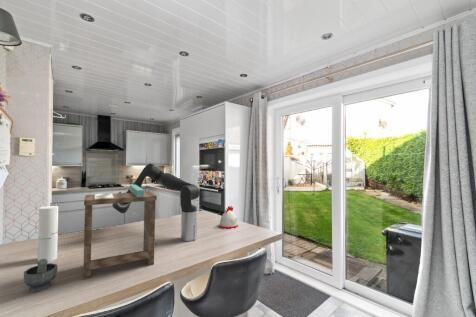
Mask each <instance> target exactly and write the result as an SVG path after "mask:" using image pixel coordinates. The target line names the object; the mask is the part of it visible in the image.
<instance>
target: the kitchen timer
mask: <svg viewBox="0 0 476 317" xmlns="http://www.w3.org/2000/svg"><path fill="white" fill-rule="evenodd" d="M236 215H237V214H235V213H234V207H233V206H232V205H231V206H230V205H229V206H227V208H226V209H225V210H224V213H222V215H221V216H220V221H219V228H221V229H224V228H226V229H225V230H232V229H231V228H234V229H237V228H238V227H239V222H238V218H237V216H236ZM236 227H237V228H236Z"/></svg>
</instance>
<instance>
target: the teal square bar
mask: <svg viewBox="0 0 476 317" xmlns="http://www.w3.org/2000/svg"><path fill="white" fill-rule="evenodd" d="M129 189H130V191H131V192H132V193H133V194H134V195H135V196H136V197H144V192H145V189H143V188H142V187H141V188H140V187H139V186H137V185H133V184H129Z"/></svg>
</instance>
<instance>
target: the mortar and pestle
mask: <svg viewBox="0 0 476 317" xmlns="http://www.w3.org/2000/svg"><path fill="white" fill-rule="evenodd" d="M57 273H58V265H57V263H49V262H48V260H47V259H41V260H39V261H38V260H37V265H35V266H31V267H30V268H28V269H26V270H25V271H23V280H24V284H26V286H28V287H29V292H30V293H38V292H42V291H45V290H48V289H49V288H50V287H51V286H52V281H53V280H54V279H55V278H56V276H57Z"/></svg>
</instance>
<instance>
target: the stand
mask: <svg viewBox="0 0 476 317" xmlns="http://www.w3.org/2000/svg"><path fill="white" fill-rule="evenodd" d="M157 197H158V196H157V195H156V194H154V193H153V192H152V191H144V197H136V196H135V195H134V194H133V193H126V192H121V193H119V192H117V193H112V192H109V193H107V192H105V193H104V192H103V193H94V194H86V195H85V197H84V199H83V206H84V231H83V267H82V271H83V272H82V273H83V274H82V280H84V281H85V280H87V279H88V280H89V279H91V271H92V270H94V269H100V268H105V267H111V266H114V265H116V266H117V265H119V264H124V263H131V262H136V261H140V260H145V261H146V263H147V266H152V265H155V240H156V237H155V235H156V234H155V233H156V232H155V231H156V201H157V199H158V198H157ZM126 202H131V203H135V202H136V203H138V202H140V203H141V202H144V204H143V206H144V208H143V210H144V211H143V242H142V243H143V246H142V247H143V248H142V249H143V250H140V251H135V252H130V253H123V254H118V255H112V256H107V257H100V258H95V259H92V237H93V236H92V232H93V230H92V229H93V228H92V227H93V205H94V206H97V205H109V204H110V205H111V204H112V205H113V203H126Z"/></svg>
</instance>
